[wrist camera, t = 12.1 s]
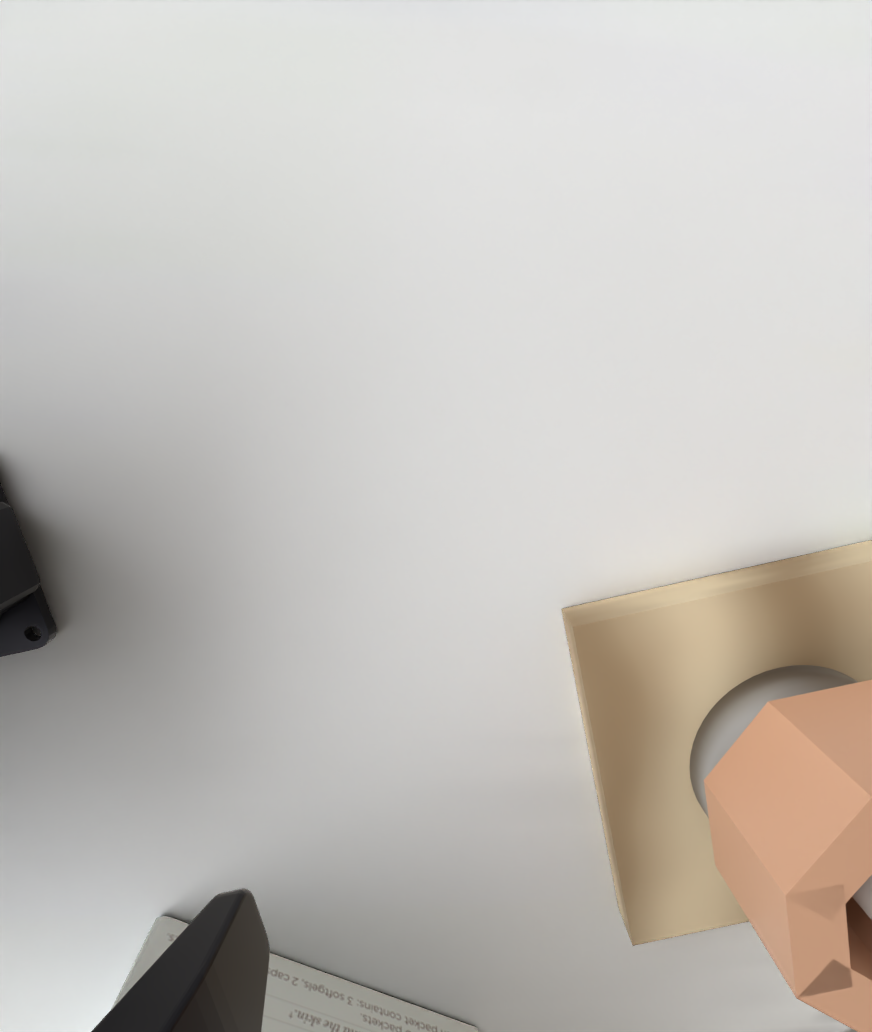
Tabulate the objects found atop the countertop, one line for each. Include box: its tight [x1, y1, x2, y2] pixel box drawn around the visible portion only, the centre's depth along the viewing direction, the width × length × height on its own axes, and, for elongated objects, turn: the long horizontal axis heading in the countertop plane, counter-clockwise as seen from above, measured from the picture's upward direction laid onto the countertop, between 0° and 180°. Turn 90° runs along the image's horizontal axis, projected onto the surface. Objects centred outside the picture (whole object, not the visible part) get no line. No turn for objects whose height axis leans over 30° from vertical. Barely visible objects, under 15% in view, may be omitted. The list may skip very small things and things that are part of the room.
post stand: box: [562, 540, 872, 945], centre depth 17 cm, size 12×12×8 cm
